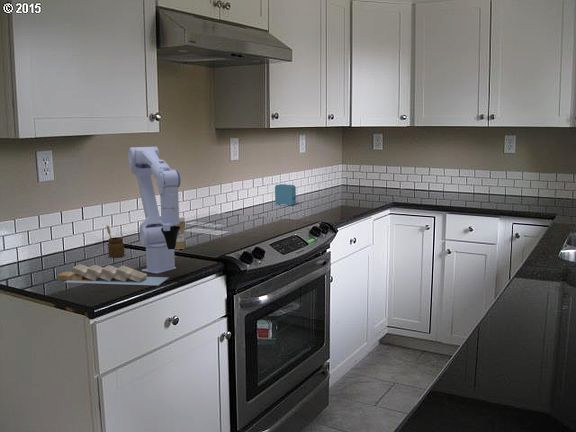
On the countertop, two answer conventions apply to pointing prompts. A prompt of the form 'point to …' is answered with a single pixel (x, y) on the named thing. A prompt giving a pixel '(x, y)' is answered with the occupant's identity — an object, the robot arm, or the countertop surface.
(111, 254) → the utensil holder
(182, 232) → the sprinkles bottle
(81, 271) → the domino
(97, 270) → the domino
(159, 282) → the mat
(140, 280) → the domino
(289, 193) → the data package
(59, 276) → the domino
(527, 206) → the countertop surface
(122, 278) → the domino
